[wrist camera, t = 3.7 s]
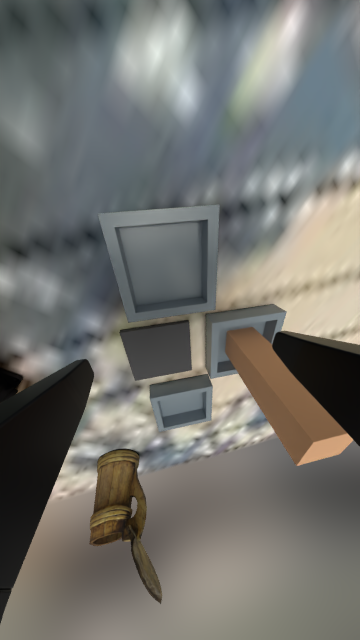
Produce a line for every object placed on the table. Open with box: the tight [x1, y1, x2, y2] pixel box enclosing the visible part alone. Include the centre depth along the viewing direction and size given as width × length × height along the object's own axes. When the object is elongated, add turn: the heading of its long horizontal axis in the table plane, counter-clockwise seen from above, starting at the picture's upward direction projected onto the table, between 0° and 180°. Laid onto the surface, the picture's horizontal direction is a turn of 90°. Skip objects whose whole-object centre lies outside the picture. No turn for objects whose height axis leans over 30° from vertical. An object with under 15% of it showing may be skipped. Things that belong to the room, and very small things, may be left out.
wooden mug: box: [90, 449, 162, 604], centre depth 29 cm, size 9×14×18 cm, turn 102°
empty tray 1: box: [98, 205, 220, 323], centre depth 16 cm, size 10×10×2 cm
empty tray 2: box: [150, 374, 213, 432], centre depth 28 cm, size 10×10×2 cm
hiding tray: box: [206, 304, 286, 379], centre depth 23 cm, size 10×10×2 cm
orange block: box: [225, 327, 353, 466], centre depth 18 cm, size 4×4×14 cm
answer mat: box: [120, 320, 192, 381], centre depth 23 cm, size 9×9×1 cm
